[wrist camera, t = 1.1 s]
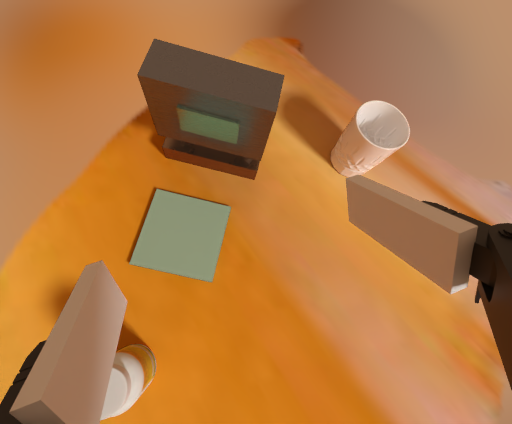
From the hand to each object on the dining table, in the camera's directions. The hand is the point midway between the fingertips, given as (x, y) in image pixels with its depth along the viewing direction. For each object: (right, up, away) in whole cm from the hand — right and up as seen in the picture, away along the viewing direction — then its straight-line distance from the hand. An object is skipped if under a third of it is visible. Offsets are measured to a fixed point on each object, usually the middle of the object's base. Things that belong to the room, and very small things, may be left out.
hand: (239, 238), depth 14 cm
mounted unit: (-6, +10, +28) cm, 31 cm away
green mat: (-9, -2, +24) cm, 25 cm away
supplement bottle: (-14, -17, +18) cm, 29 cm away
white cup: (+17, +10, +32) cm, 37 cm away
